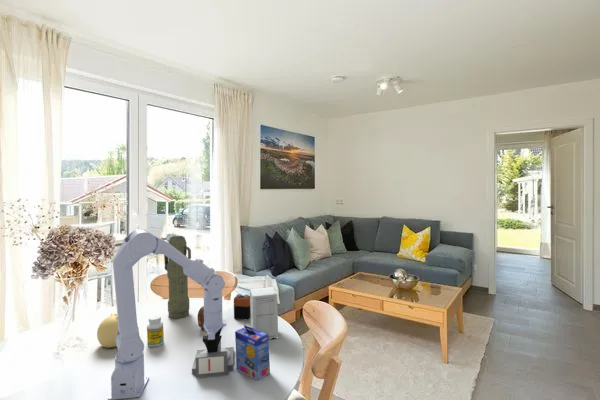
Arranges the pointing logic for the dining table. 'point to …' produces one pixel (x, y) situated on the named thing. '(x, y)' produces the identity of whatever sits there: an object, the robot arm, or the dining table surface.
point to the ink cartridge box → (252, 352)
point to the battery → (242, 307)
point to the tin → (201, 317)
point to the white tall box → (264, 311)
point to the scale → (213, 362)
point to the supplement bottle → (155, 331)
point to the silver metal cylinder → (218, 347)
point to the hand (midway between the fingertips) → (213, 352)
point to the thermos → (177, 281)
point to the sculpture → (108, 331)
